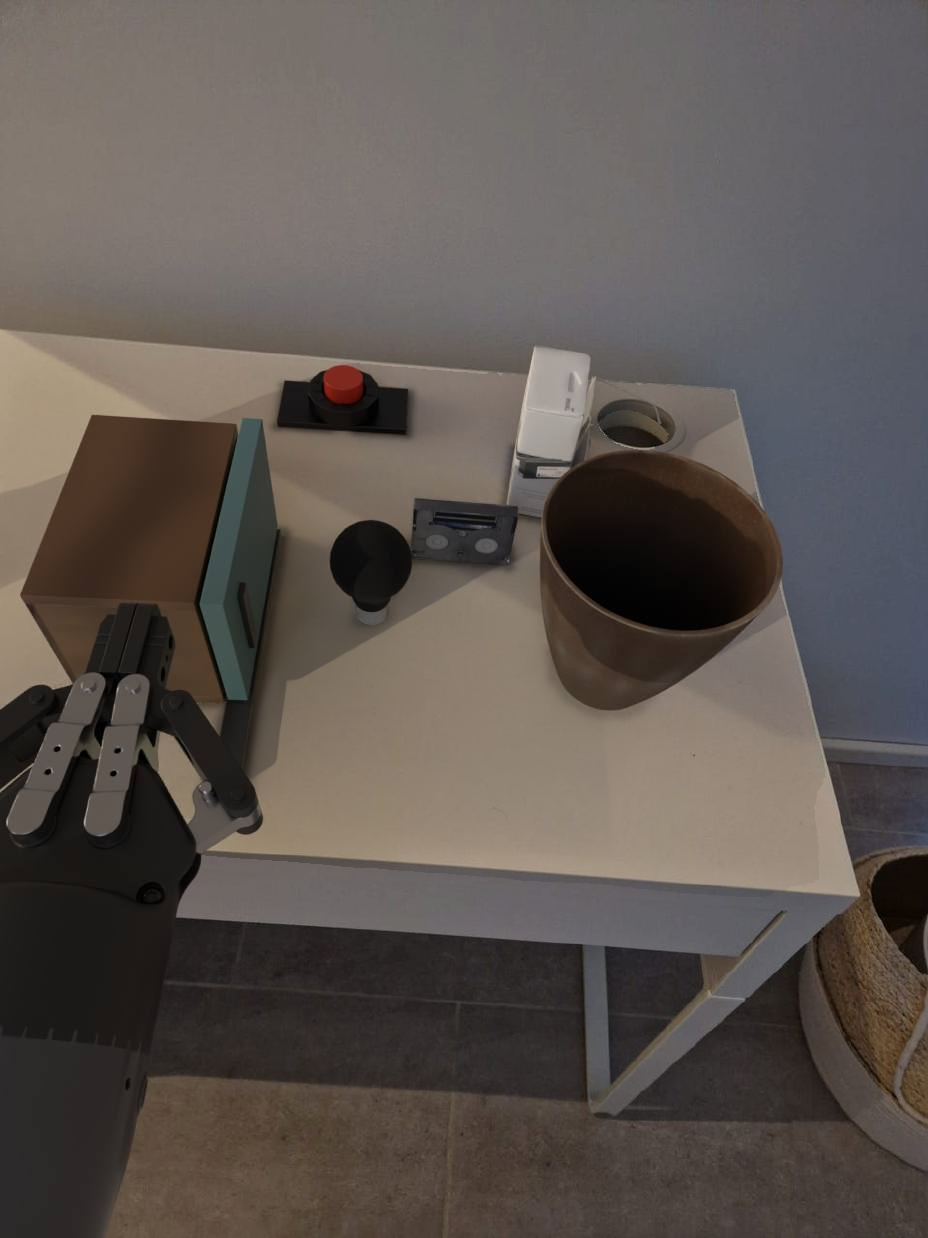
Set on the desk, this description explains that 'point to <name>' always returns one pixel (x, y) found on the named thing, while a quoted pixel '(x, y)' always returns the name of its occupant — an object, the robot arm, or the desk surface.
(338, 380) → the button
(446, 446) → the desk surface
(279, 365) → the desk surface
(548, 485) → the ink box
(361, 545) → the light bulb
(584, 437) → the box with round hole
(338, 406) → the button box
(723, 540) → the plant pot
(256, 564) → the door
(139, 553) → the cabinet
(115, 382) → the desk surface
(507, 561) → the mini dv tape
